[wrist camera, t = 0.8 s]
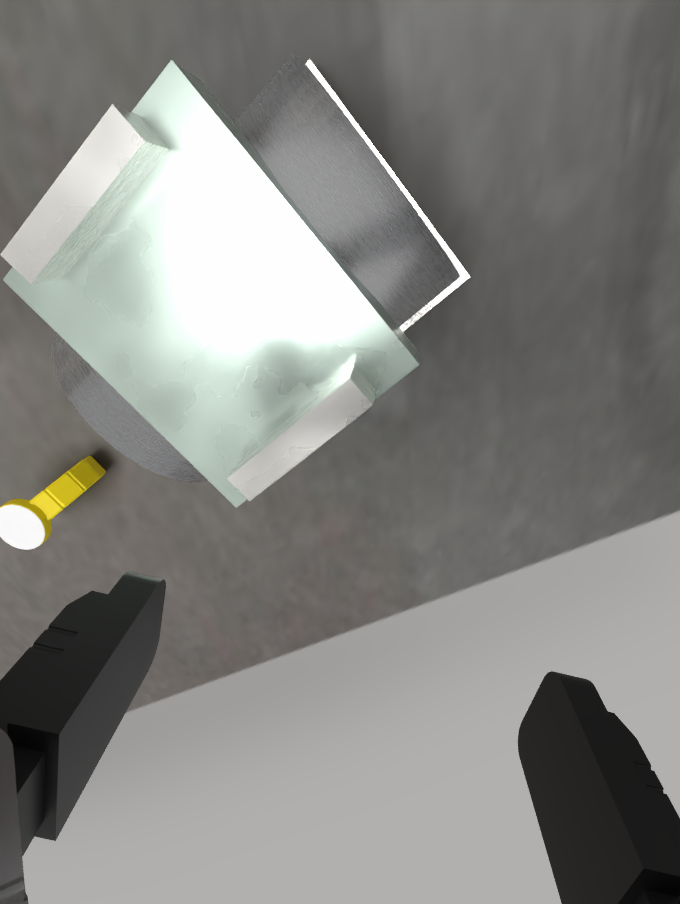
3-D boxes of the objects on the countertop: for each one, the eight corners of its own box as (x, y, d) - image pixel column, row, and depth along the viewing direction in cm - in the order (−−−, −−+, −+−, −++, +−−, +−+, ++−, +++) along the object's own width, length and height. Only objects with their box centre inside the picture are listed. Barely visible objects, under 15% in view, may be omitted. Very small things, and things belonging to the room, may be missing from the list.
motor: (315, 69, 22) (218, -111, 10) (466, 273, 25) (529, 320, 13) (102, 307, 27) (-124, 373, 15) (246, 454, 30) (148, 605, 18)
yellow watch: (96, 435, 31) (37, 475, 25) (128, 468, 32) (78, 515, 26) (32, 487, 32) (-36, 536, 27) (65, 518, 33) (5, 572, 28)
